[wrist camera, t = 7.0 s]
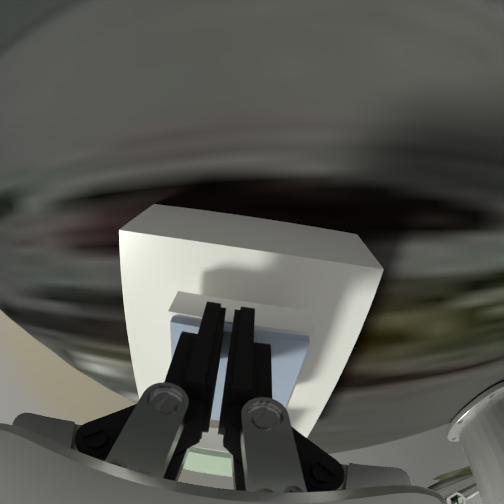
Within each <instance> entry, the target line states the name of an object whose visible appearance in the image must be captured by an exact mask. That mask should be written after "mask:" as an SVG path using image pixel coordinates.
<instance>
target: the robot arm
mask: <svg viewBox="0 0 504 504" xmlns="http://www.w3.org/2000/svg"><path fill="white" fill-rule="evenodd" d="M225 314H226V308H223V307H221V303H215V302H209V301H207V303H206V306H205V310H204V313H203V317H202V320H201V324H200V327H199V331H198V334H196V333H190V332H185V331H182V332H181V334H180V337H179V340H178V343H177V346H176V349H175V352H174V355H173V358H172V360H171V363H170V366H169V369H168V372H167V375H166V378H165V381H164V382H163V383H156V384H153V385H151V386H150V387H148V388H147V389H146V390H145V391H144V393H143V394H142V396H141V398H140V399H139V401H138V403H137V404H135V405H133V406H130V407H128V408H125V409H123V410H120V411H117V412H115V413H112V414H110V415H107V416H104V417H102V418H99V419H96V420H93V421H90V422H88V423H85V424H84V425H76V423H75V422H72V421H66V420H61V419H56V418H50V417H46V416H41V415H36V414H32V413H23V414H20V415H18V416H17V417H16V418H15V420H14V422H13V425H8V424H3V423H0V504H447V502H446V501H445V499H444V498H443V497H442V496H441V495H440V494H439V493H437V492H436V491H433V490H431V489H427V488H424V487H419V486H410V478H409V476H408V474H407V473H406V472H405V471H404V470H402V469H399V468H394V467H381V466H370V465H360V464H353V463H348V464H347V465H343V464H340V463H339V462H338V461H337V460H335V459H334V458H332V457H331V456H330V455H328V454H327V453H326V452H324V451H323V450H322V449H320V448H319V447H318V446H316V445H315V444H314V443H312V442H311V441H310V440H308V439H307V438H306V437H304V436H303V435H302V434H301V433H299V432H298V431H297V430H296V429H294V428H293V427H292V426H291V423H290V419H289V414H288V412H287V410H286V408H285V407H284V406H283V405H282V404H281V403H280V402H278V401H277V400H274V399H272V363H271V345H270V344H265V343H257V342H254V322H255V308H249V307H242V306H241V308H240V310H236V309H235V312H234V319H233V325H232V332H231V339H230V346H229V353H228V361H227V368H226V375H225V383H224V390H223V397H222V405H221V413H220V420H219V428H218V434H220V435H223V446H224V447H225V448H226V449H227V450H228V451H229V452H230V453H231V464H232V476H233V487H234V490H229V489H219V488H213V487H206V486H199V485H193V484H188V483H182V482H178V479H179V477H180V474H181V471H182V469H183V466H184V464H185V461H186V458H187V455H188V453H189V449H190V447H192V446H194V445H196V444H197V443H199V442H200V439H202V433H203V432H207V433H208V432H209V426H210V419H211V413H212V406H213V400H214V394H215V388H216V381H217V375H218V369H219V363H220V355H221V347H222V338H223V330H224V322H225ZM446 436H447V438H448V440H449V441H453V442H455V441H460V442H461V444H462V447H463V449H464V452H465V454H466V457H467V459H468V462H469V465H470V467H471V470H472V473H473V476H474V478H475V481H476V484H477V487H478V490H479V493H480V496H481V499H482V503H483V504H504V382H501V383H499V384H497V385H495V386H493V387H491V388H490V389H488V390H487V391H485V392H484V393H482V394H481V395H479V396H478V397H477V398H475V399H474V400H473V401H472V402H470V403H469V404H468V405H467V406H466V407H465V408H464V409H463V410H462V411H460V412H459V413H458V414H457V416H456V417H455V418H454V419H453V420H452V421H451V423H450V424H449V426H448V428H447V430H446Z"/></svg>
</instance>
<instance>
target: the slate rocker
mask: <svg viewBox="0 0 504 504" xmlns="http://www.w3.org/2000/svg"><path fill="white" fill-rule="evenodd" d="M207 301H209V302H215V303H221V307H223V308H226V314H225V322H224V330H223V338H222V347H221V355H220V363H219V369H218V375H217V381H216V388H215V394H214V400H213V406H212V413H211V419H212V420H218V421H219V420H220V413H221V405H222V397H223V390H224V383H225V375H226V368H227V361H228V353H229V346H230V339H231V332H232V325H233V319H234V312H235V309H236V310H240V308H241V306H242V307H249V308H255V322H254V342H257V343H265V344H270V345H271V363H272V399H274V400H277V401H278V402H280V403H281V404H282V405H283V406H284V407H285V408H287V406H288V404H289V401H290V399H291V396H292V394H293V391H294V388H295V386H296V383H297V381H298V378H299V375H300V373H301V370H302V367H303V365H304V362H305V359H306V356H307V353H308V351H309V348H310V345H311V342H312V339H313V336H314V333H315V331H314V326H313V321H312V316H311V311H310V310H304V309H295V308H288V307H280V306H272V305H265V304H258V303H251V302H244V301H237V300H231V299H224V298H218V297H211V296H205V295H199V294H193V293H188V292H182V291H178V292H177V294H176V296H175V298H174V300H173V302H172V304H171V306H170V308H169V310H168V327H169V350H170V363H171V360H172V358H173V355H174V352H175V349H176V346H177V343H178V340H179V337H180V334H181V332H182V331H185V332H190V333H196V334H198V331H199V327H200V324H201V320H202V317H203V313H204V310H205V306H206V303H207Z"/></svg>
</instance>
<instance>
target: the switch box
mask: <svg viewBox="0 0 504 504" xmlns="http://www.w3.org/2000/svg"><path fill="white" fill-rule="evenodd" d="M119 245H120V264H121V278H122V289H123V300H124V309H125V317H126V325H127V332H128V339H129V346H130V352H131V358H132V364H133V369H134V375H135V380H136V385H137V390H138V394H139V399H140V398H141V396H142V394H143V393H144V391H145V390H146V389H147V388H148V387H150V386H151V385H153V384H156V383H163V382H164V381H165V378H166V375H167V372H168V369H169V366H170V350H169V327H168V310H169V308H170V306H171V304H172V302H173V300H174V298H175V296H176V294H177V292H178V291H182V292H188V293H193V294H199V295H205V296H211V297H218V298H224V299H231V300H237V301H244V302H251V303H258V304H265V305H272V306H280V307H288V308H295V309H304V310H310V311H311V316H312V321H313V326H314V331H315V333H314V336H313V339H312V342H311V345H310V348H309V351H308V353H307V356H306V359H305V362H304V365H303V367H302V370H301V373H300V375H299V378H298V381H297V383H296V386H295V388H294V391H293V394H292V396H291V399H290V401H289V404H288V406H287V408H286V410H287V412H288V414H289V419H290V423H291V426H292V427H293V428H294V429H296V430H297V431H298V432H299V433H301V434H302V435H303V436H304V437H306V438H307V437H308V435H309V433H310V432H311V430H312V428H313V427H314V425H315V423H316V421H317V419H318V418H319V416H320V414H321V412H322V410H323V408H324V407H325V405H326V403H327V401H328V399H329V397H330V395H331V393H332V391H333V389H334V387H335V385H336V383H337V381H338V379H339V377H340V375H341V373H342V371H343V369H344V367H345V365H346V363H347V360H348V358H349V356H350V354H351V352H352V349H353V347H354V345H355V343H356V340H357V338H358V336H359V333H360V331H361V329H362V326H363V324H364V321H365V319H366V316H367V314H368V311H369V309H370V306H371V304H372V301H373V298H374V296H375V293H376V290H377V287H378V285H379V282H380V279H381V276H382V273H383V270H384V269H383V267H382V266H381V265H380V263H379V262H378V261H377V259H376V258H375V257H374V256H373V254H372V253H371V252H370V250H369V249H368V248H367V246H366V245H365V244H364V243H363V241H362V240H361V239H360V238H359V236H358V235H357V234H353V233H347V232H342V231H336V230H330V229H324V228H318V227H312V226H306V225H300V224H294V223H288V222H281V221H275V220H269V219H262V218H255V217H249V216H242V215H235V214H228V213H221V212H213V211H206V210H198V209H191V208H183V207H175V206H167V205H159V204H154V205H152V206H151V207H149V208H148V209H147V210H145V211H144V212H142V213H141V214H140V215H138V216H137V217H136V218H134V219H133V220H132V221H130V222H129V223H128V224H126V225H125V226H124V227H122V228H121V229H120V230H119ZM209 427H211V428H219V421H218V420H212V419H210V426H209Z"/></svg>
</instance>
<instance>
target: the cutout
mask: <svg viewBox="0 0 504 504" xmlns="http://www.w3.org/2000/svg"><path fill="white" fill-rule="evenodd" d="M446 501H447V504H466V498H465V497H464V496H463V495H462V494H460V493H458V492H456V493H454V494H452V495H451V496H449V497H448V498H447V499H446Z"/></svg>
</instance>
